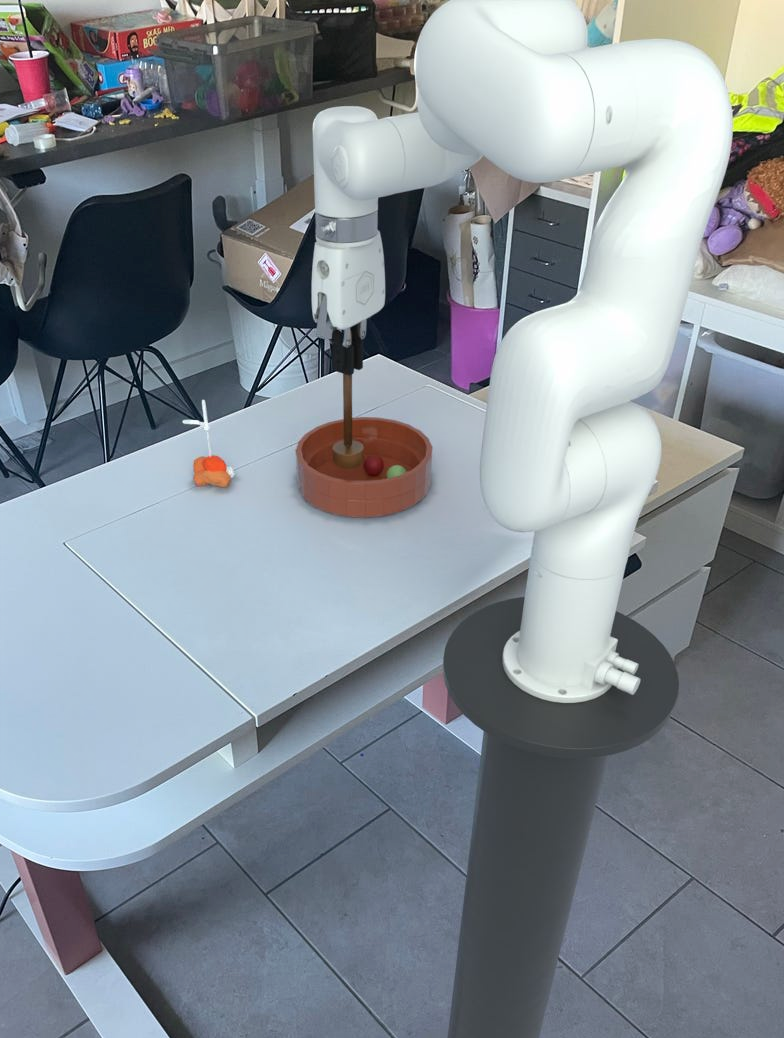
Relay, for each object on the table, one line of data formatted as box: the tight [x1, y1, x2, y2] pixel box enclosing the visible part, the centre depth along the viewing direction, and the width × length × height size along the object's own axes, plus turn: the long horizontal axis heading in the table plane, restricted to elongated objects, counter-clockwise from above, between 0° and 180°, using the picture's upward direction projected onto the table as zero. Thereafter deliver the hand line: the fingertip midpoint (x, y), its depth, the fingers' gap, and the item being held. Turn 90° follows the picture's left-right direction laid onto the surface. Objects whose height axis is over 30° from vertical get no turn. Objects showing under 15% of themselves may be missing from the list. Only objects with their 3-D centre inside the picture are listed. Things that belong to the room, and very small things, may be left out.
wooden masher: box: [333, 330, 364, 469], centre depth 128 cm, size 4×4×19 cm
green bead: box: [387, 465, 406, 479], centre depth 137 cm, size 3×3×3 cm
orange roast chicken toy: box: [182, 399, 236, 488], centre depth 139 cm, size 6×10×12 cm, turn 38°
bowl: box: [295, 416, 433, 518], centre depth 137 cm, size 20×20×6 cm
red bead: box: [364, 455, 384, 476], centre depth 139 cm, size 3×3×3 cm
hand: (347, 369), depth 125 cm, fingers closed on wooden masher, 1 cm apart
